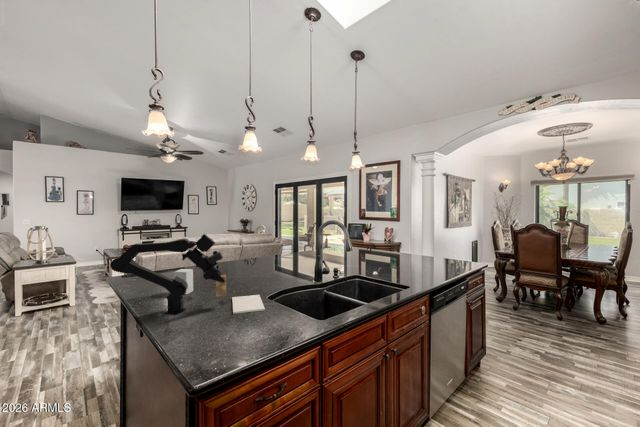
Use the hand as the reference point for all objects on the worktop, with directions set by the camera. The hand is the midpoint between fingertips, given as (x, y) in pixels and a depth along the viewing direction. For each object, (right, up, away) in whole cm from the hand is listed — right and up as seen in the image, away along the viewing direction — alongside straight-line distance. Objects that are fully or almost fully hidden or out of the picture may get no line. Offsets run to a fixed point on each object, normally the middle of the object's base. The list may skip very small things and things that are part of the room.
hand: (224, 280), depth 133 cm
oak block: (-1, -7, 0) cm, 7 cm away
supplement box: (-30, -12, +22) cm, 40 cm away
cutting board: (+10, -12, +4) cm, 17 cm away
